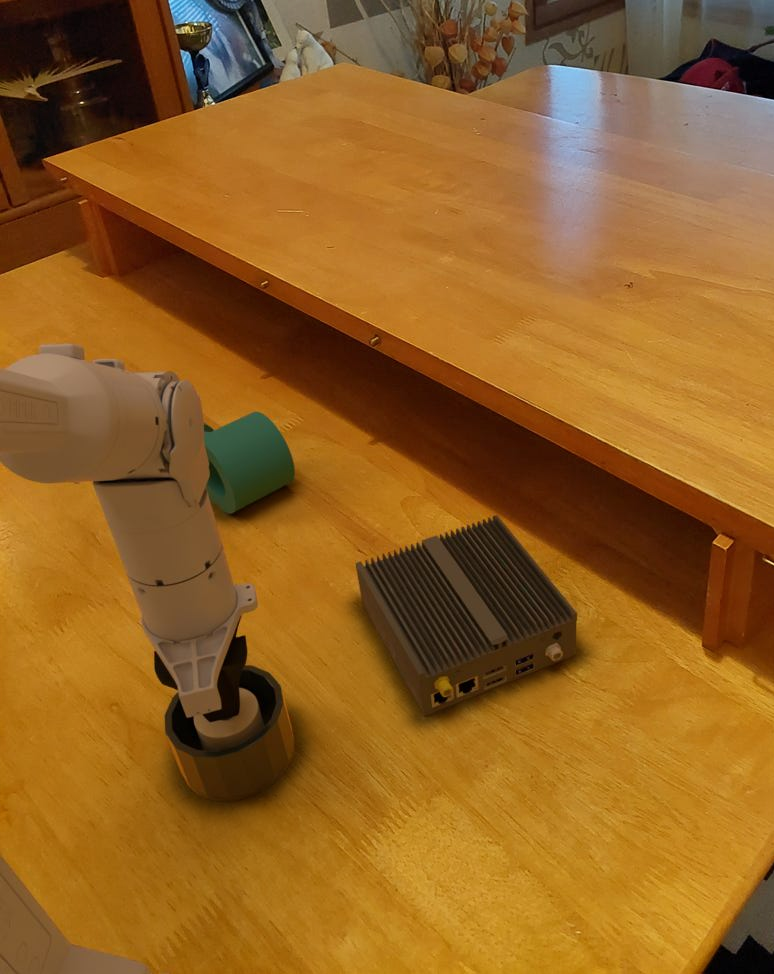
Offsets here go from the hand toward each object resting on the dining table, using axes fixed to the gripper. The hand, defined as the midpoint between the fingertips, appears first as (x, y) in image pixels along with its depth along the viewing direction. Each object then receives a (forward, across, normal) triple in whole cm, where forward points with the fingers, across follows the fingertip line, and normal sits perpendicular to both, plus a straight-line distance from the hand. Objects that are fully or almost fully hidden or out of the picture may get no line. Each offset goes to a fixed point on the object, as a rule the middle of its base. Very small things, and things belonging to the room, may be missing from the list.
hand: (222, 703), depth 63 cm
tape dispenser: (+6, +35, -2) cm, 35 cm away
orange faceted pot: (+6, 0, 0) cm, 6 cm away
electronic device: (+6, +6, -19) cm, 21 cm away
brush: (+4, 0, 0) cm, 4 cm away
